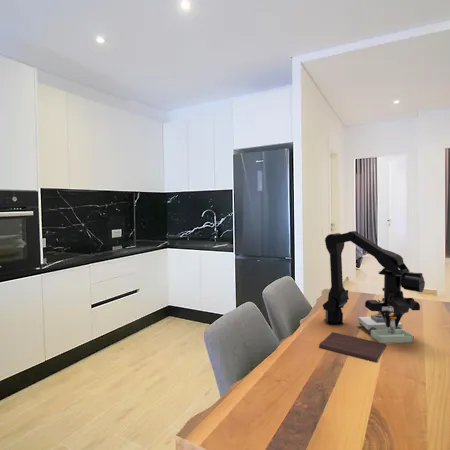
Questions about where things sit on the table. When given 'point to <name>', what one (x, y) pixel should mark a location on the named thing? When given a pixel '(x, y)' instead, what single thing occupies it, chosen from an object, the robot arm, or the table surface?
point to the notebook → (353, 346)
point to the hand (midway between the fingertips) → (391, 326)
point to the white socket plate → (375, 323)
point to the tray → (392, 336)
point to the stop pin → (392, 323)
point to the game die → (388, 308)
